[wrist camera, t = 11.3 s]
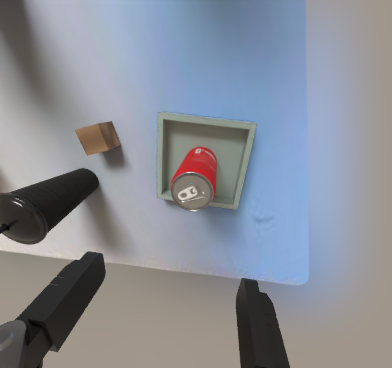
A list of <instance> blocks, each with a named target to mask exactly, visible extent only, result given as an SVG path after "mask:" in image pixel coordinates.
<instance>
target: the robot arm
mask: <svg viewBox="0 0 392 368" xmlns="http://www.w3.org/2000/svg"><path fill="white" fill-rule="evenodd" d="M105 273H106V272H105V265H104V258H103V254H102V253H96V252H90V251H89V252H86V253H85V254H84V255H83V257H82V258H81V259H80V260H74V261H73V262H71V263H70V264H68V265H67V266H65V268H63V270H62V271H61V272H60V273H59V274H58V275H57V277H55V278H54V279H53V280H52V281H51V282H50V284H49V285H48V286H47V287H46V288H45V289H44V290H43V291H42V292H41V293H40V294H39V295H38V296H37V297H36V298H35V300H34V301H33V302H32V303H31V304H30V305H29V306H28V307H27V308H26V309H25V310H24V311H23V312H22V314H20V316H19V317H17V318H16V319H15V320H13V321H9V322H7V323H4V324H2V325H0V368H42V366H43V358H44V356H45V355H46V354H47V352H48V351H49V350H50V351H55V352H58V351H59V349H60V348H61V346H62V345H63V343H64V341H65V340H66V338H67V337H68V335H69V334H70V332H71V331H72V329H73V327H74V326H75V324H76V323H77V321H78V320H79V318H80V317H81V315H82V314H83V312H84V310H85V308H86V307H87V306H88V304H89V303H90V301H91V300H92V298H93V296H94V295H95V293H96V292H97V290H98V289H99V287H100V286H101V284H102V282H103V280H104V278H105ZM236 314H237V327H238V339H239V351H240V363H241V368H290V365H289V362H288V358H287V354H286V351H285V347H284V343H283V339H282V335H281V332H280V329H279V324H278V321H277V318H276V313H275V310H274V306H273V303H272V301H271V300H270V298H269V297H268V295H267V294H266V293H262V292H259V287H258V283H257V281H256V280H252V279H246V278H242V279H241V283H240V286H239V289H238V293H237V296H236Z"/></svg>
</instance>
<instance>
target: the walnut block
mask: <svg viewBox="0 0 392 368" xmlns="http://www.w3.org/2000/svg"><path fill="white" fill-rule="evenodd" d="M75 132H76V134H77V136H78V138H79V140H80V142H81V144H82V146H83V148H84V150H85V152H86V154H87V155H91V154H95V153H99V152H103V151H107V150H110V149H113V148H115V147H117V146H120V145H121V143H120V141H119V138H118V136H117V133H116V131H115V128H114V126H113V124H112V121H111V122H105V123H99V124H95V125H91V126H88V127H84V128H81V129H77V130H75Z"/></svg>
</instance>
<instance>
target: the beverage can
mask: <svg viewBox="0 0 392 368" xmlns="http://www.w3.org/2000/svg"><path fill="white" fill-rule="evenodd" d="M216 174H217V159H216V156H215V154H214V153H213V152H212V151H211V150H210V149H208V148H206V147H196V148H193V149H192V150H190V151H189V152H188V154H187V155H186V157H185V158H184V160H183V162H182V163H181V165H180V166H179V168H178V170H177V171H176V173H175V175H174V176H173V178H172V180H171V184H170V190H171V196H172V198H173V200H174V202H175V203H176V204H177V205H178V206H179V207H181V208H183V209H185V210H188V211H198V210H202V209H204V208H205V207H207V206H208V205H209V204H210V203H211V201H212V200H213V198H214V196H215V193H216Z"/></svg>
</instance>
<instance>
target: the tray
mask: <svg viewBox="0 0 392 368" xmlns="http://www.w3.org/2000/svg"><path fill="white" fill-rule="evenodd" d="M256 126H257V124H256V123H254V122H249V121H240V120H232V119H223V118H214V117H206V116H197V115H188V114H180V113H171V112H158V137H157V198H159V199H166V200H173V198H172V196H171V190H170V184H171V180H172V178H173V176H174V175H175V173H176V171H177V170H178V168H179V166H180V165H181V163H182V162H183V160H184V158H185V157H186V155H187V154H188V152H189V151H190V150H192V149H193V148H196V147H206V148H208V149H210V150H211V151H212V152H213V153H214V154H215V156H216V159H217V174H216V193H215V196H214V198H213V200H212V201H211V203H210V204H209V205H208V206H214V207H221V208H227V209H234V210H237V209H238V205H239V200H240V196H241V192H242V187H243V183H244V178H245V174H246V170H247V165H248V161H249V157H250V152H251V148H252V144H253V139H254V135H255V131H256ZM173 201H174V200H173Z"/></svg>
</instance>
